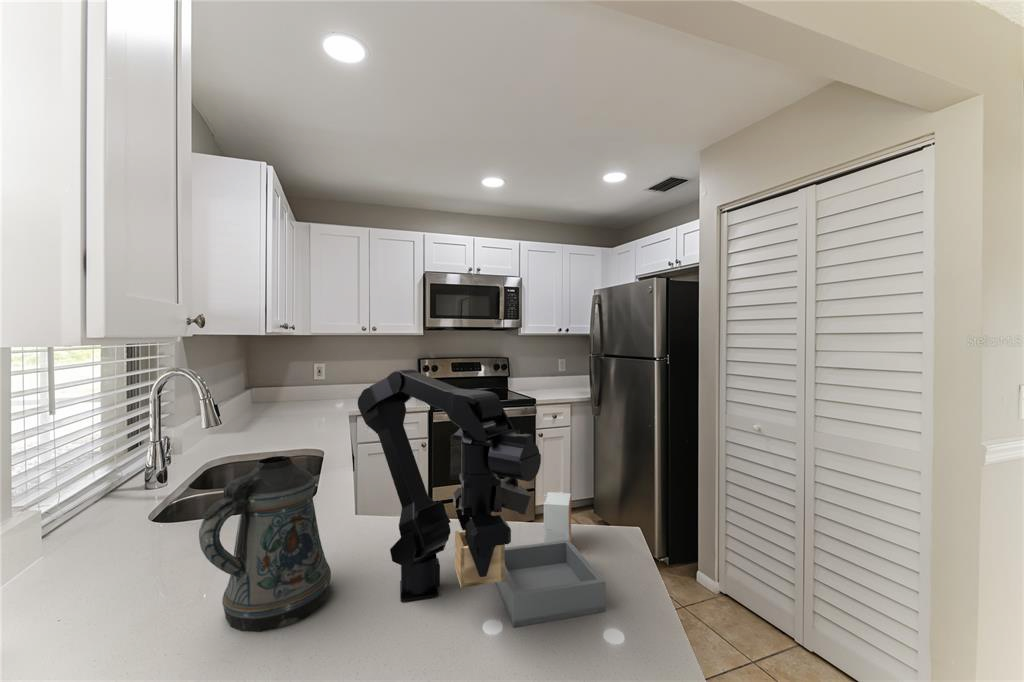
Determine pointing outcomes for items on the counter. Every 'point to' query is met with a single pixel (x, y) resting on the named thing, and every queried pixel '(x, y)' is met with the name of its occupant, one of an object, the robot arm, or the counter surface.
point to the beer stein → (269, 547)
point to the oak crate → (467, 566)
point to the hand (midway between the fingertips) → (478, 565)
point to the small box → (557, 517)
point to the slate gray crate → (549, 584)
